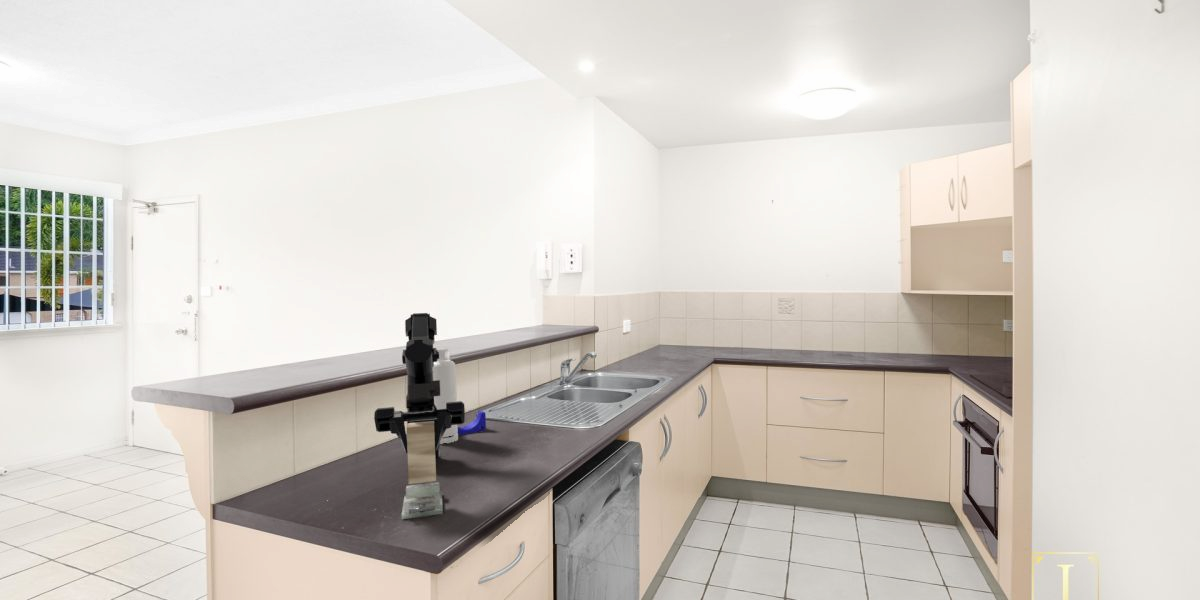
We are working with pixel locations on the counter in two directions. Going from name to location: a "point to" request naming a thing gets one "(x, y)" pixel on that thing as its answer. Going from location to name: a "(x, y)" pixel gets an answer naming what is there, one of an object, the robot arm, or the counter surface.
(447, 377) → the bottle
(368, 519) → the counter surface
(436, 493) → the frosted green stand
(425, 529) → the counter surface
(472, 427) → the blue curved bracket
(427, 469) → the beech block
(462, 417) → the robot arm
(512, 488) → the counter surface
